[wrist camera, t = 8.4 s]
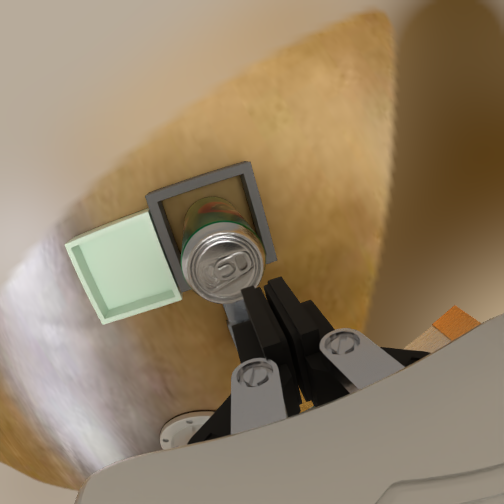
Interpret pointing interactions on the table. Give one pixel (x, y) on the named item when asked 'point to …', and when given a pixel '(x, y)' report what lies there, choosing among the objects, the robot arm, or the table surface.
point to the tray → (124, 267)
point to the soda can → (220, 251)
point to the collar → (211, 177)
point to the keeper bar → (442, 331)
